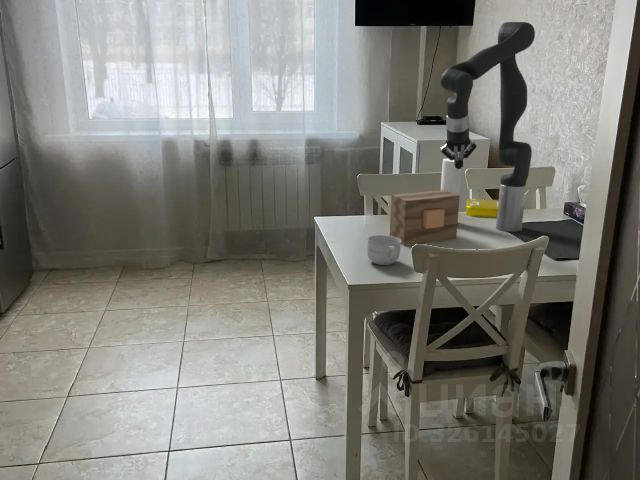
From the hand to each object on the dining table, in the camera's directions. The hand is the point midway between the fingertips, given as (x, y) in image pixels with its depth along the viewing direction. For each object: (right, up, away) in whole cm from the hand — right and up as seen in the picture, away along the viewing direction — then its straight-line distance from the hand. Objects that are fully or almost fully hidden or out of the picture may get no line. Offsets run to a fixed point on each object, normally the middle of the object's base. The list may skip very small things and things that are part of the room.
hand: (458, 167), depth 224 cm
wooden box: (-12, -25, +3) cm, 28 cm away
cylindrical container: (+1, -19, +22) cm, 29 cm away
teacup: (-29, -34, -24) cm, 51 cm away
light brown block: (-11, -20, -2) cm, 23 cm away
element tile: (+19, -15, +38) cm, 45 cm away
